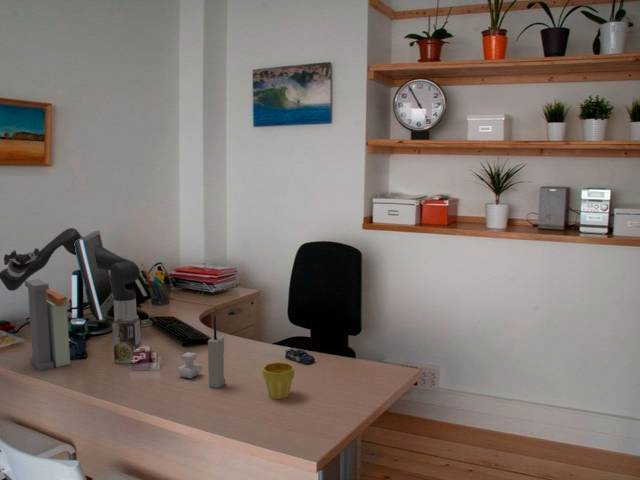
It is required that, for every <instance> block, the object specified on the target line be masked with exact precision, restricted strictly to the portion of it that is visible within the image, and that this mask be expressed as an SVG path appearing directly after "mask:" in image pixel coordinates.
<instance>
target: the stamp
mask: <svg viewBox="0 0 640 480" xmlns="http://www.w3.org/2000/svg"><path fill="white" fill-rule="evenodd" d="M197 357H198V354H197V353H195V352H189V351H187V352H185V353H184V354H182V355H181V354H180V359H181V361H183V362H185V364H182V365H180V366H178V367H177V368H176V373H177V374H178V375H179V376H180V377H181V378H182V377H183V378H188V379H192V378H194V377H196V376H199V374H200V373H201V371H202V370H203V365H201V364H198V363H194V361H195V360H197Z"/></svg>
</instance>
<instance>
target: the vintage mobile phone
mask: <svg viewBox="0 0 640 480" xmlns="http://www.w3.org/2000/svg"><path fill="white" fill-rule="evenodd" d="M216 316H217V315H214V316H213V337H211V338H210V339H208V340H207V355H208V356H207V361H208V362H207V363H208V387H210V388H215V389H220V388H221V387H222V386H224V384H226V379H225V374H224V373H225V372H224V371H225V369H224V368H225V367H224V366H225V365H224V353H225V337H224V336H217V317H216Z"/></svg>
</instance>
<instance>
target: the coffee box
mask: <svg viewBox="0 0 640 480" xmlns="http://www.w3.org/2000/svg"><path fill="white" fill-rule="evenodd" d="M141 321H142V320H141V318H139V319H118V320H116V321H115V320H114V321H113V322H112V323H111V324H112V325H111V327H112V338H113V339H112V340H113V354H114V355H113V356H114V364H128V365H129V364H130V362H131V357H132V353H133V351H134V350H136V349H137V348H139V347H142V348H143V341H142V324H141V323H142V322H141Z"/></svg>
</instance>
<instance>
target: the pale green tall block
mask: <svg viewBox="0 0 640 480" xmlns="http://www.w3.org/2000/svg"><path fill="white" fill-rule="evenodd" d="M46 300H47V299H46ZM47 316H48V332H49V347H50V360H51V361H52V362H53V363H54V367H56V368H59V367H63V366H67V365H71V358H70V356H71V355H70V354H71V353H70V342H69V341H70V340H69V337H70V336H69V322H68V321H69V320H68V304H67V305H65V306H57V305H55V304H54V303H52V302H50V301H48V300H47Z"/></svg>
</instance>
